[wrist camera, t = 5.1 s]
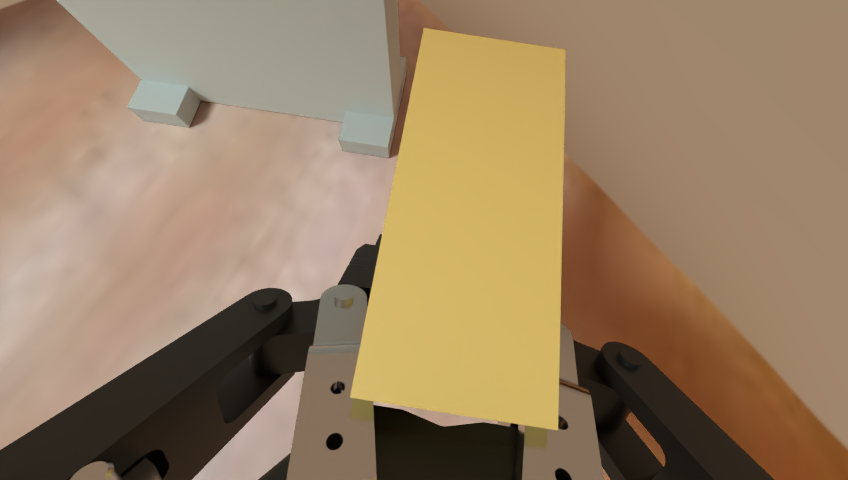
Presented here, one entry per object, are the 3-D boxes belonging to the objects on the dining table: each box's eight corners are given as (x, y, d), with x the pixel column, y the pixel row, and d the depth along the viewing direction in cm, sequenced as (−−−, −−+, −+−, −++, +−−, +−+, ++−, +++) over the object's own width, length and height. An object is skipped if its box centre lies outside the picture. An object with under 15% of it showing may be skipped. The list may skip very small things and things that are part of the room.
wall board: (143, 120, 20) (-224, -170, 8) (183, 38, 22) (-68, -287, 10) (388, 158, 20) (357, -83, 8) (406, 71, 22) (401, -219, 10)
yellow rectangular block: (387, 351, 16) (331, 395, 5) (411, 213, 19) (411, 25, 7) (461, 362, 16) (575, 433, 5) (476, 223, 19) (578, 51, 7)
